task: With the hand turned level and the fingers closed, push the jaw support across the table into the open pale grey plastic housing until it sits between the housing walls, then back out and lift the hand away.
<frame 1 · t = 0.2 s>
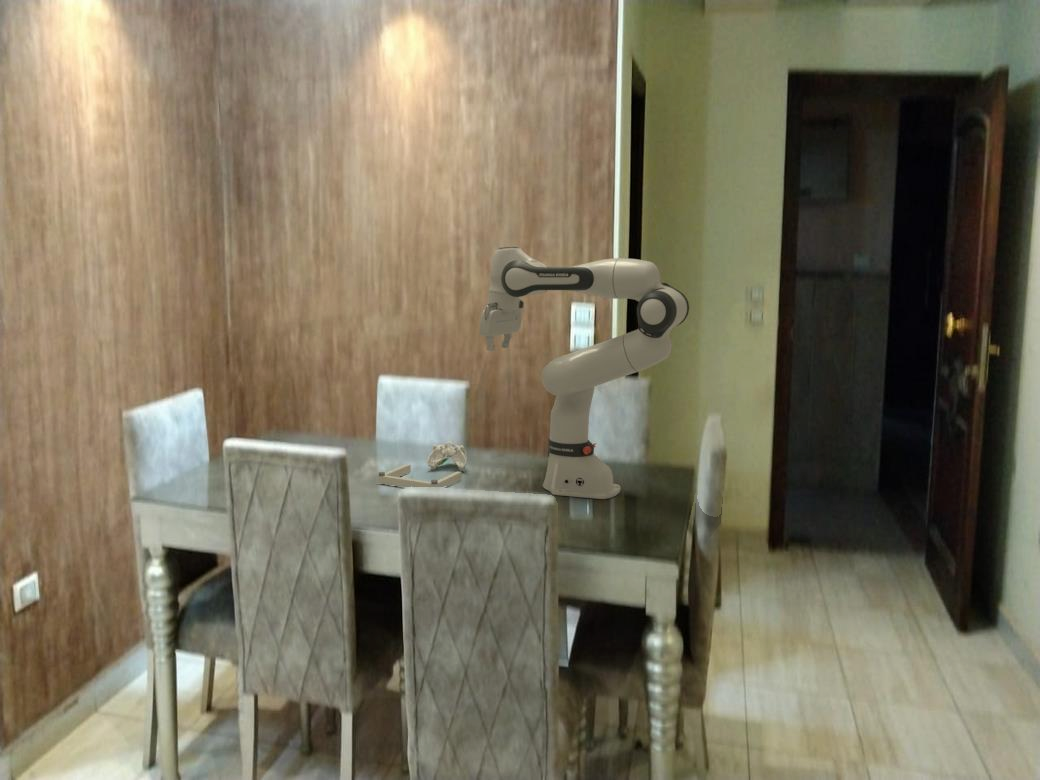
hand: (497, 349, 266), 39 cm above the table, tool pointing down, fingers open, 8 cm apart
housing: (420, 482, 265), on the table
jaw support: (449, 469, 281), on the table
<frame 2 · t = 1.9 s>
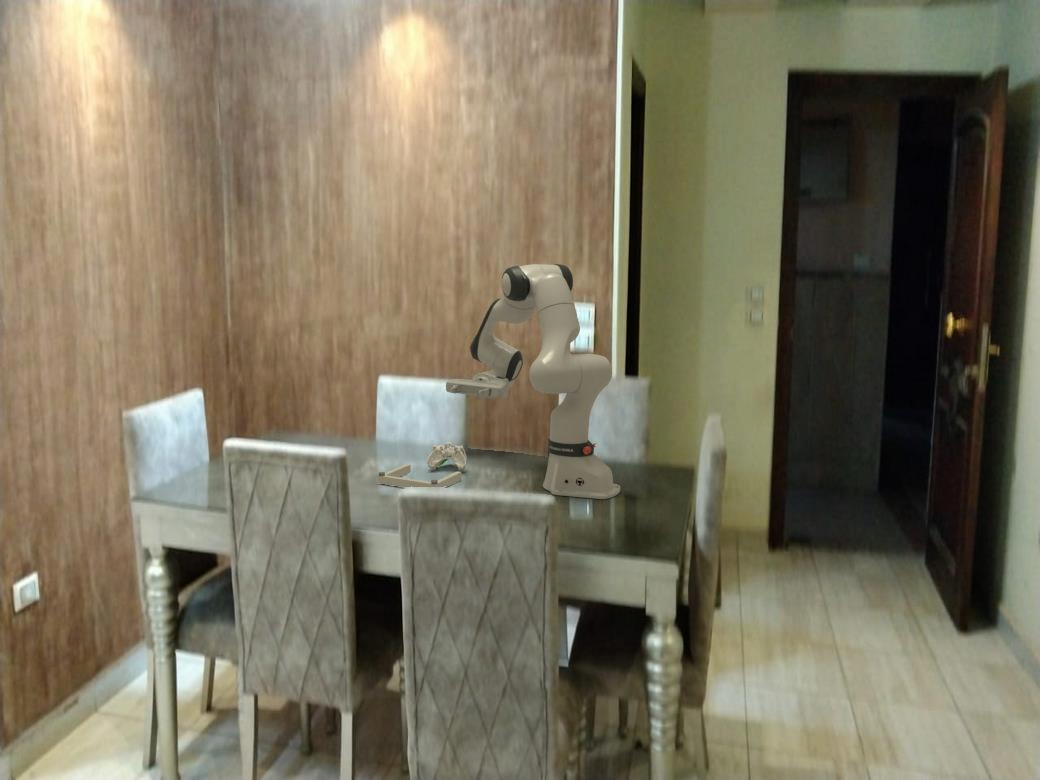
hand: (465, 392, 287), 23 cm above the table, tool horizontal, fingers open, 8 cm apart
nothing on the table moved.
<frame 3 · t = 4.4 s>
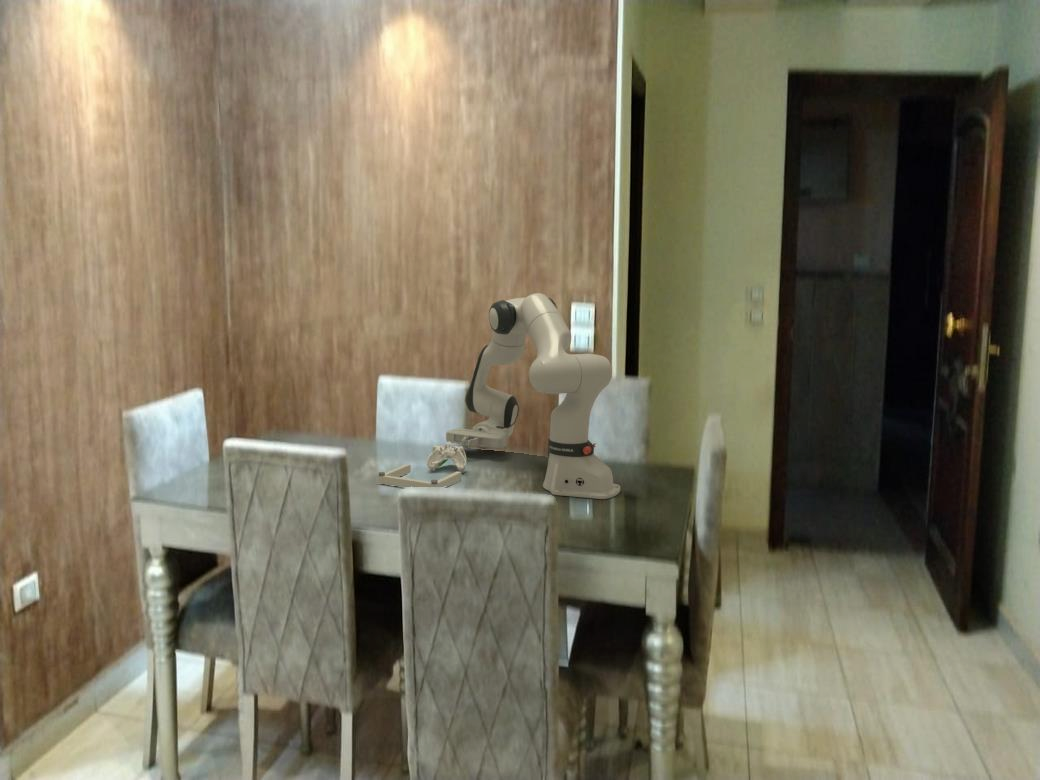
hand: (465, 443, 290), 6 cm above the table, tool horizontal, fingers closed
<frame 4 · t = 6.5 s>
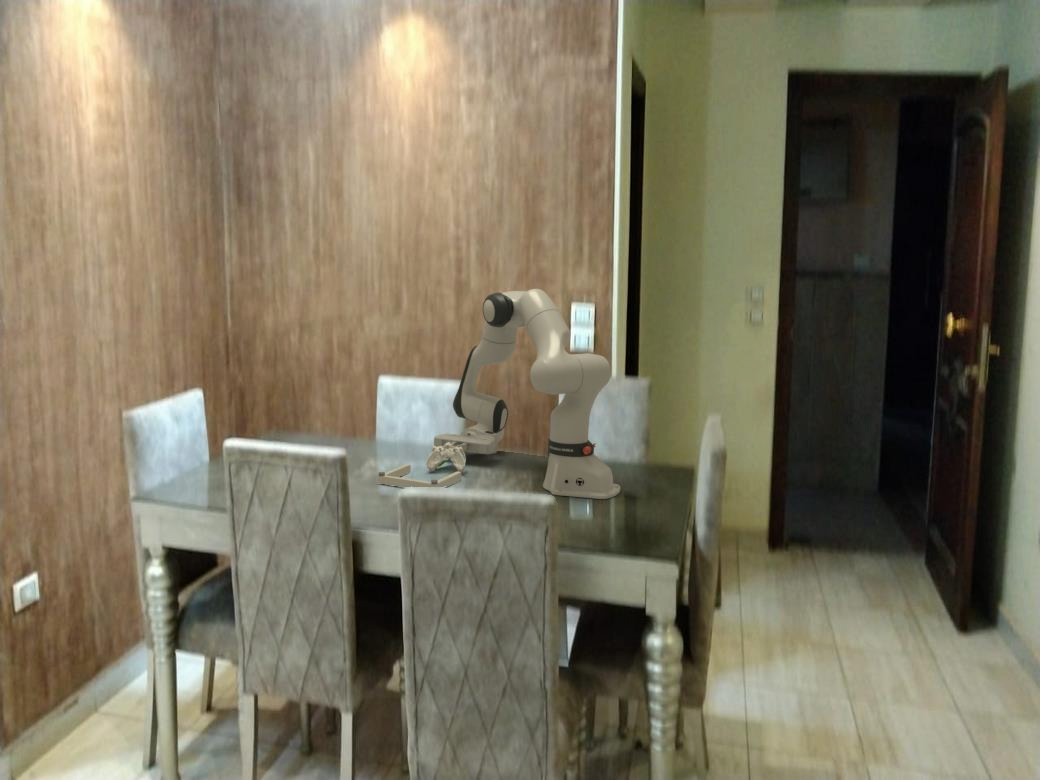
hand: (453, 448, 282), 6 cm above the table, tool horizontal, fingers closed
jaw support: (448, 471, 279), on the table, touching gripper
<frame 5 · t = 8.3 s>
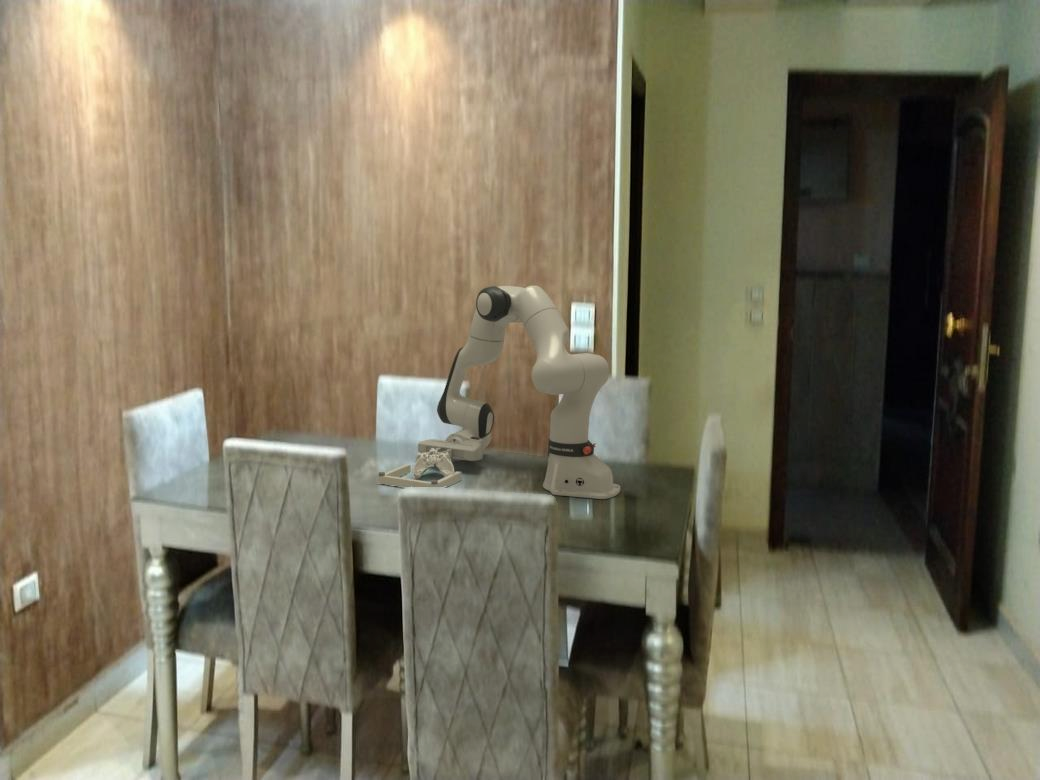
hand: (437, 455, 273), 6 cm above the table, tool horizontal, fingers closed, pressing on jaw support
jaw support: (433, 478, 271), on the table, touching gripper
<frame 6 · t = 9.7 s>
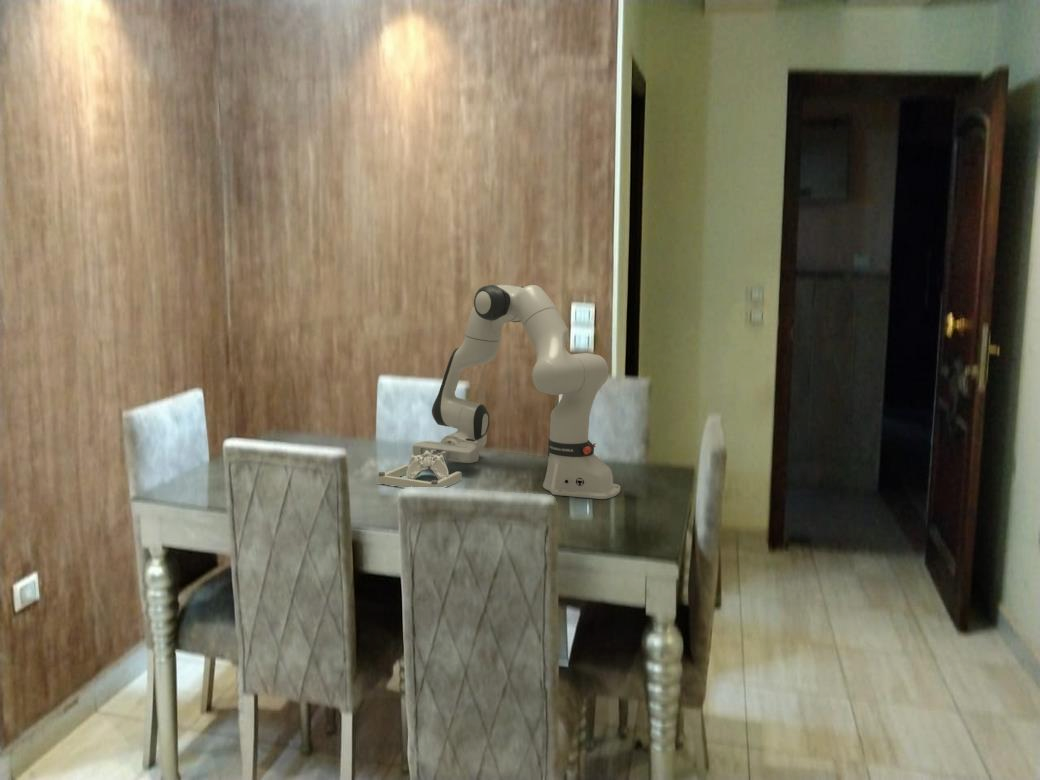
hand: (432, 457, 270), 6 cm above the table, tool horizontal, fingers closed
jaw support: (427, 481, 268), on the table
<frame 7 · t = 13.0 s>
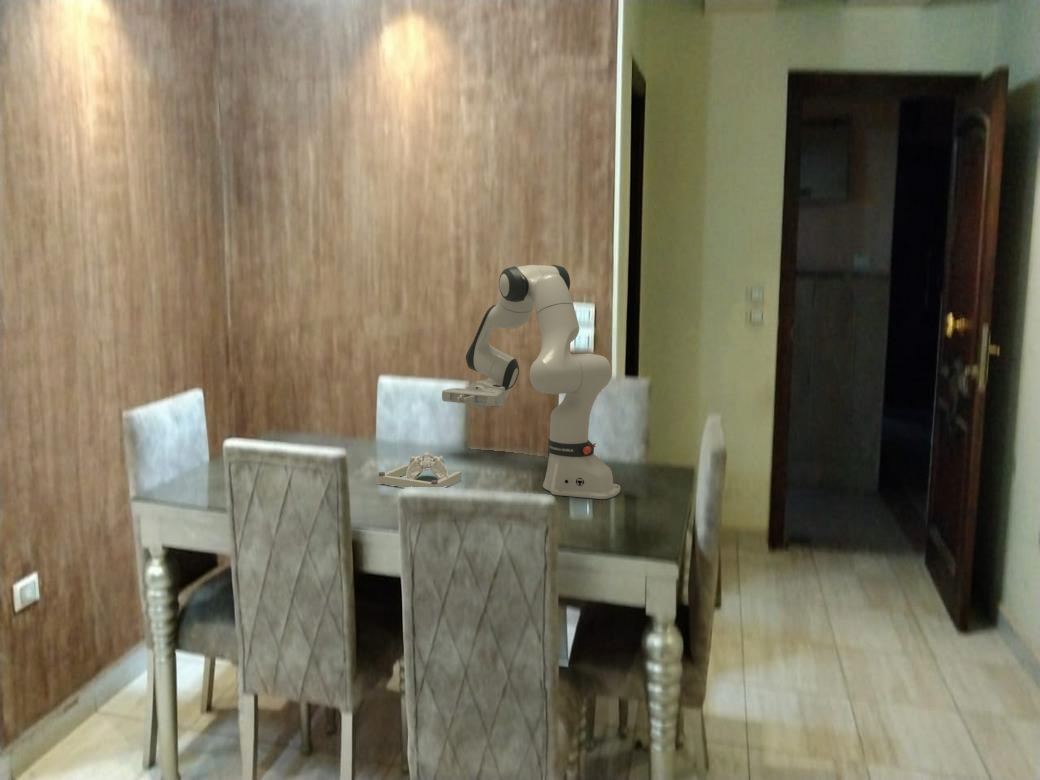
hand: (461, 400, 284), 20 cm above the table, tool horizontal, fingers closed
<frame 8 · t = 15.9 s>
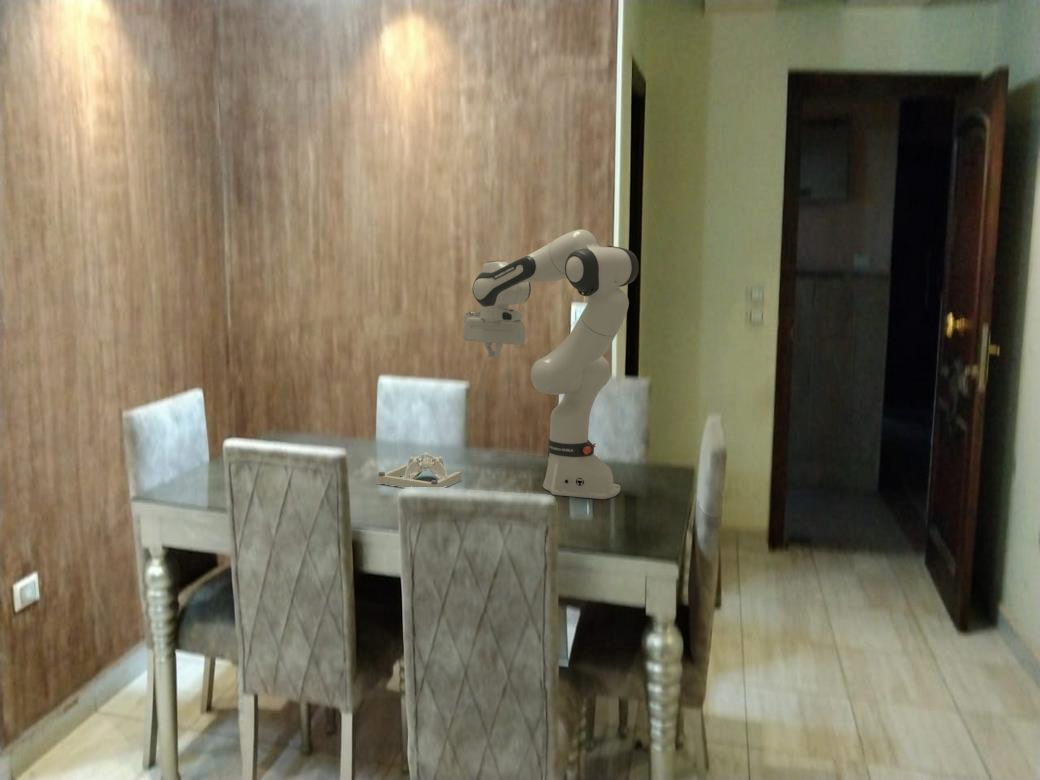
hand: (493, 357, 284), 34 cm above the table, tool pointing down, fingers closed
at the end: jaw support inside the target area on the housing (1.7 cm from its centre), point 0.0 cm above the housing's base; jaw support tilted 0°; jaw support moved 16.4 cm from its start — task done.
